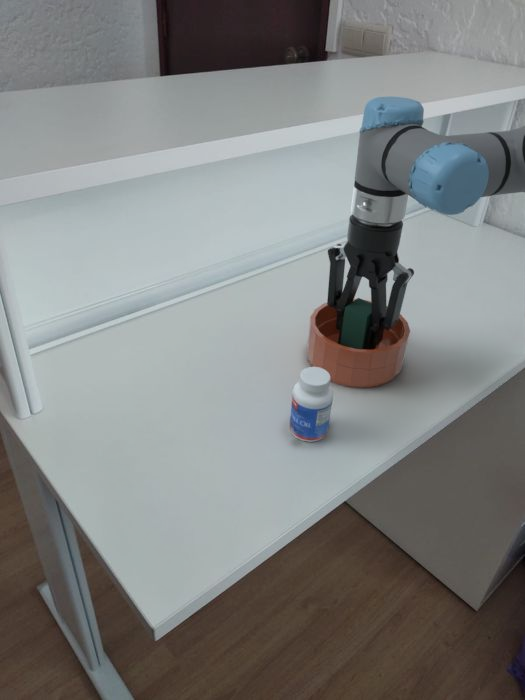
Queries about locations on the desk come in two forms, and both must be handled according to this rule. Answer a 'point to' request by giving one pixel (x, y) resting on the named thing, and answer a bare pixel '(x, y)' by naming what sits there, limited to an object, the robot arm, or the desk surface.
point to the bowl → (355, 352)
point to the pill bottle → (311, 405)
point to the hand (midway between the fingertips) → (355, 352)
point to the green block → (356, 323)
